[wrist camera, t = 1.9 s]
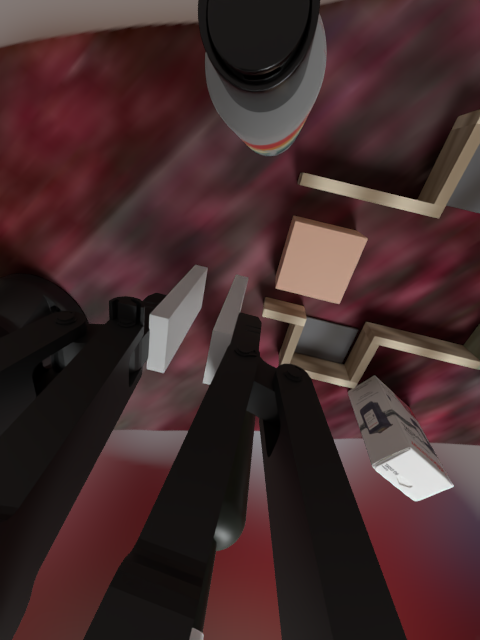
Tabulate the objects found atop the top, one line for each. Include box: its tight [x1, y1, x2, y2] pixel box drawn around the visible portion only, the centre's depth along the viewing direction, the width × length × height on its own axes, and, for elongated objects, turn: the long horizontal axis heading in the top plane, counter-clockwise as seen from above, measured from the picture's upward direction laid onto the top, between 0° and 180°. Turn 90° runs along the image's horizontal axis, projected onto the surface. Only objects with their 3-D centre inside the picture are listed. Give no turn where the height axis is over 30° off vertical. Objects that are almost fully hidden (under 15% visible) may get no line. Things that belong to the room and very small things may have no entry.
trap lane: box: [262, 109, 480, 389], centre depth 29 cm, size 26×29×4 cm
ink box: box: [348, 375, 454, 501], centre depth 34 cm, size 8×5×12 cm, turn 49°
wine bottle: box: [189, 410, 255, 640], centre depth 26 cm, size 6×6×30 cm
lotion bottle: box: [198, 0, 327, 156], centre depth 17 cm, size 6×6×20 cm
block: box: [276, 215, 368, 304], centre depth 29 cm, size 7×7×4 cm
